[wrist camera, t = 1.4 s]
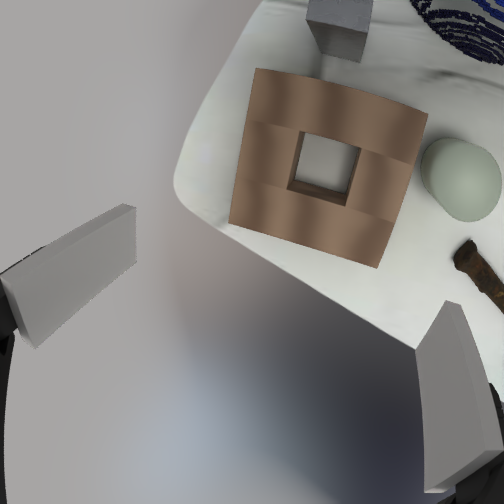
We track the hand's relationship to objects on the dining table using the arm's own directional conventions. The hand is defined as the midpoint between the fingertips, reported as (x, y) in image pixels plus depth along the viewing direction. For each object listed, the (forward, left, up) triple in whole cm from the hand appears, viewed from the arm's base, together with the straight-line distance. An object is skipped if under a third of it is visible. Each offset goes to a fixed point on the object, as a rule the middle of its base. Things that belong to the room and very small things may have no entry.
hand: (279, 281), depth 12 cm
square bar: (+1, -15, -27) cm, 31 cm away
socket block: (0, 0, -27) cm, 27 cm away
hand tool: (-29, +7, -27) cm, 40 cm away
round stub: (-15, -4, -27) cm, 31 cm away
